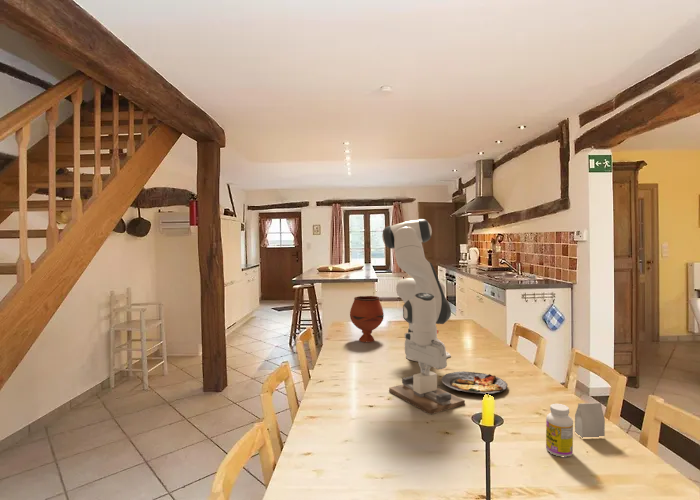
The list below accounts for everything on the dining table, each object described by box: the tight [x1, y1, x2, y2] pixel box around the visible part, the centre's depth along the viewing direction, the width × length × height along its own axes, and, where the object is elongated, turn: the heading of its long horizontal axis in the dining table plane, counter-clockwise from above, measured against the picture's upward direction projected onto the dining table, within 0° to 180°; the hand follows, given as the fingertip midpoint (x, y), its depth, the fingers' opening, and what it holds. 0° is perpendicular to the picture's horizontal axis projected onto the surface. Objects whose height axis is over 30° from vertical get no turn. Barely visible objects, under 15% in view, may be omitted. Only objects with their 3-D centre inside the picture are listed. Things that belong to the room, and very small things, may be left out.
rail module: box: [412, 370, 438, 397], centre depth 155 cm, size 8×4×7 cm, turn 119°
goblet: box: [349, 295, 385, 343], centre depth 238 cm, size 19×19×25 cm
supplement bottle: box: [545, 403, 574, 458], centre depth 115 cm, size 7×7×13 cm
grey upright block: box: [574, 402, 606, 438], centre depth 124 cm, size 4×7×10 cm, turn 92°
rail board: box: [388, 375, 466, 415], centre depth 155 cm, size 16×24×4 cm, turn 29°
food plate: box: [441, 371, 508, 395], centre depth 166 cm, size 25×23×4 cm
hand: (425, 374), depth 154 cm, fingers closed, pressing on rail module
